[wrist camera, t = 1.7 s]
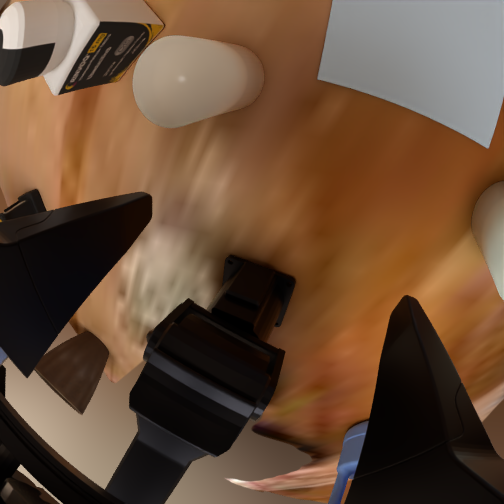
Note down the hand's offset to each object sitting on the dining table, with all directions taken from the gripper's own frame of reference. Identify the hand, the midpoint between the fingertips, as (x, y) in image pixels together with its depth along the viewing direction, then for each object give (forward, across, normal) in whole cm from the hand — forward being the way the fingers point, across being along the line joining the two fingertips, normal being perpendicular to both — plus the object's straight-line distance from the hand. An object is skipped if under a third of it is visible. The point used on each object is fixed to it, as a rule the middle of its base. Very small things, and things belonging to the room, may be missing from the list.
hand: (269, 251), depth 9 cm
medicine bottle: (+12, +19, -7) cm, 24 cm away
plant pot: (+12, +34, +51) cm, 63 cm away
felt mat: (+12, -4, -11) cm, 17 cm away
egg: (+12, +8, -4) cm, 15 cm away
